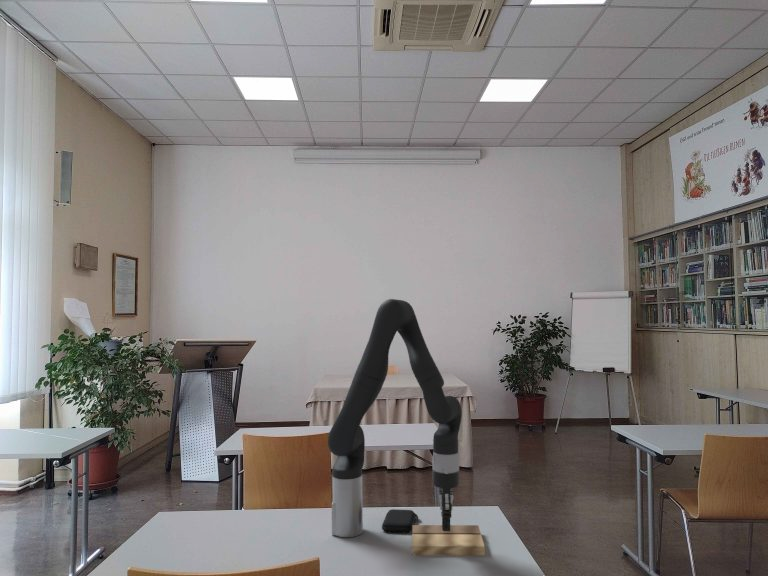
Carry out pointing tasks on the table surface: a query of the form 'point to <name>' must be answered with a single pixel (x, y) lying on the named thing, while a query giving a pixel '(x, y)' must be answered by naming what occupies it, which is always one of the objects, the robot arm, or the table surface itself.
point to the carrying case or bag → (399, 521)
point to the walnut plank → (453, 530)
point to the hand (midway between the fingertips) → (446, 530)
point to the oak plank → (447, 544)
